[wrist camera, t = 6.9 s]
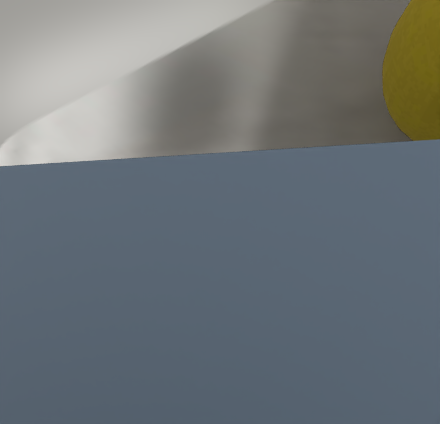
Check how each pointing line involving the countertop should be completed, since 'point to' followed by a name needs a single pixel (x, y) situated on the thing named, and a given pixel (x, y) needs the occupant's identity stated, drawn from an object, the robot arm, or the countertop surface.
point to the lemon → (415, 71)
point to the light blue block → (223, 288)
